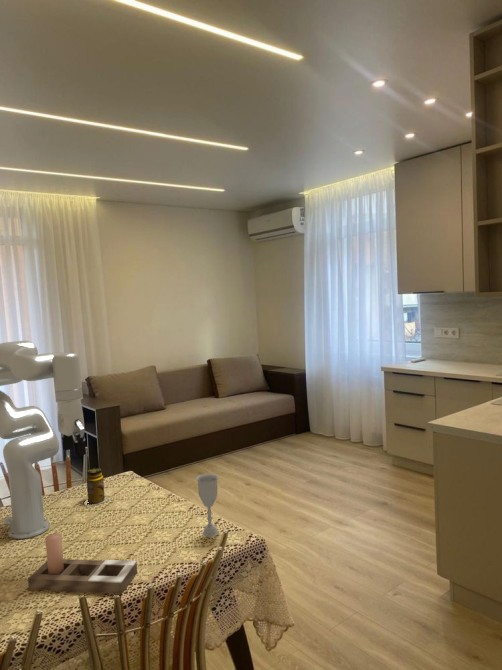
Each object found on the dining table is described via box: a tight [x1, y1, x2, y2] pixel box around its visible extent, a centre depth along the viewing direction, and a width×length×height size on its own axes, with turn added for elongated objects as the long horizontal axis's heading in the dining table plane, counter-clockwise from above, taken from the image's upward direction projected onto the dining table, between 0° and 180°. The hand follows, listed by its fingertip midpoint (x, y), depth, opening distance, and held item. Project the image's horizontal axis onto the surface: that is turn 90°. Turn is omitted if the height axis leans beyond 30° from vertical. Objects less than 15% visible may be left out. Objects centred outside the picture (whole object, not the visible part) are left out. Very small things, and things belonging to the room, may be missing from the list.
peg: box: [45, 532, 64, 575], centre depth 134 cm, size 4×4×12 cm
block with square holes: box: [27, 558, 138, 595], centre depth 133 cm, size 26×10×3 cm, turn 81°
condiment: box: [79, 467, 109, 508], centre depth 186 cm, size 7×8×12 cm
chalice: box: [195, 473, 219, 538], centre depth 156 cm, size 7×7×18 cm
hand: (74, 452), depth 146 cm, fingers open, 9 cm apart
